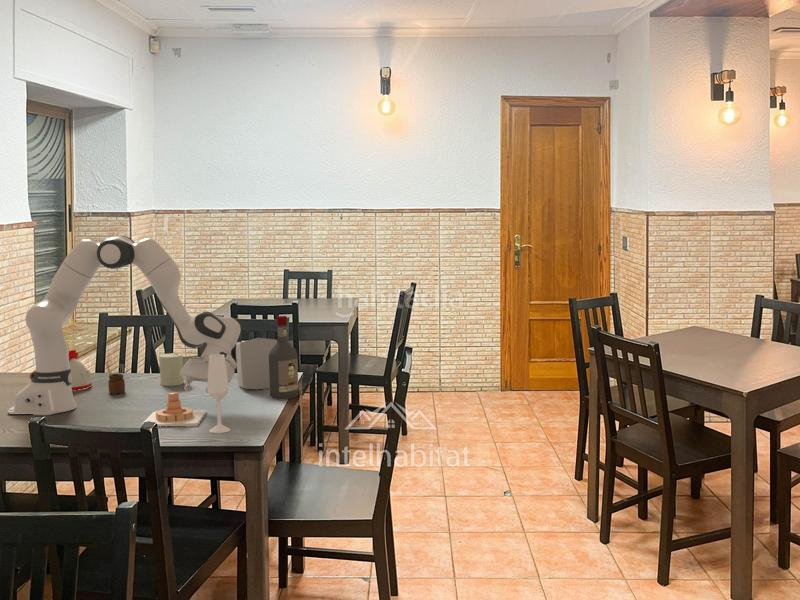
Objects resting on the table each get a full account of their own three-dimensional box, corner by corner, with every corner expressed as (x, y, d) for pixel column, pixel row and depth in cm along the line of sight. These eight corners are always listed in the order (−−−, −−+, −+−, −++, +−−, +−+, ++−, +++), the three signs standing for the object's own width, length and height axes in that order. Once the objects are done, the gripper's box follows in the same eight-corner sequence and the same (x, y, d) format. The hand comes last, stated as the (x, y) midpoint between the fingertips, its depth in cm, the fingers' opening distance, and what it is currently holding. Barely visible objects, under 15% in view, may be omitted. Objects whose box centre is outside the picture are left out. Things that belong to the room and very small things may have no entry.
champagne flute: (211, 427, 287) (208, 353, 284) (232, 427, 287) (229, 353, 284) (206, 433, 281) (203, 357, 278) (227, 432, 280) (224, 357, 278)
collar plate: (141, 427, 288) (140, 418, 288) (153, 414, 306) (153, 405, 306) (197, 426, 289) (197, 417, 289) (206, 412, 307) (206, 404, 307)
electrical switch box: (272, 386, 359) (269, 336, 360) (280, 388, 345) (277, 336, 346) (236, 389, 354) (232, 339, 355) (243, 391, 340) (239, 339, 341)
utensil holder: (125, 393, 340) (123, 362, 338) (107, 395, 338) (106, 364, 337) (125, 390, 346) (123, 360, 344) (108, 392, 344) (106, 361, 342)
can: (188, 382, 359) (187, 353, 358) (171, 386, 351) (170, 356, 350) (172, 380, 364) (171, 351, 363) (155, 384, 356) (153, 354, 355)
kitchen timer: (98, 384, 358) (96, 347, 357) (80, 392, 345) (78, 353, 343) (66, 384, 361) (64, 347, 359) (47, 391, 347) (44, 353, 346)
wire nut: (165, 419, 295) (163, 395, 294) (168, 415, 300) (167, 392, 299) (180, 418, 295) (179, 395, 294) (183, 414, 300) (182, 391, 299)
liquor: (266, 397, 330) (264, 316, 327) (286, 392, 337) (283, 314, 333) (282, 400, 324) (280, 318, 320) (301, 396, 330) (299, 315, 327)
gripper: (186, 351, 318) (169, 383, 310) (233, 355, 309) (216, 388, 301) (195, 361, 322) (178, 393, 315) (241, 365, 313) (224, 398, 306)
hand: (197, 390), depth 308 cm, fingers open, 8 cm apart
